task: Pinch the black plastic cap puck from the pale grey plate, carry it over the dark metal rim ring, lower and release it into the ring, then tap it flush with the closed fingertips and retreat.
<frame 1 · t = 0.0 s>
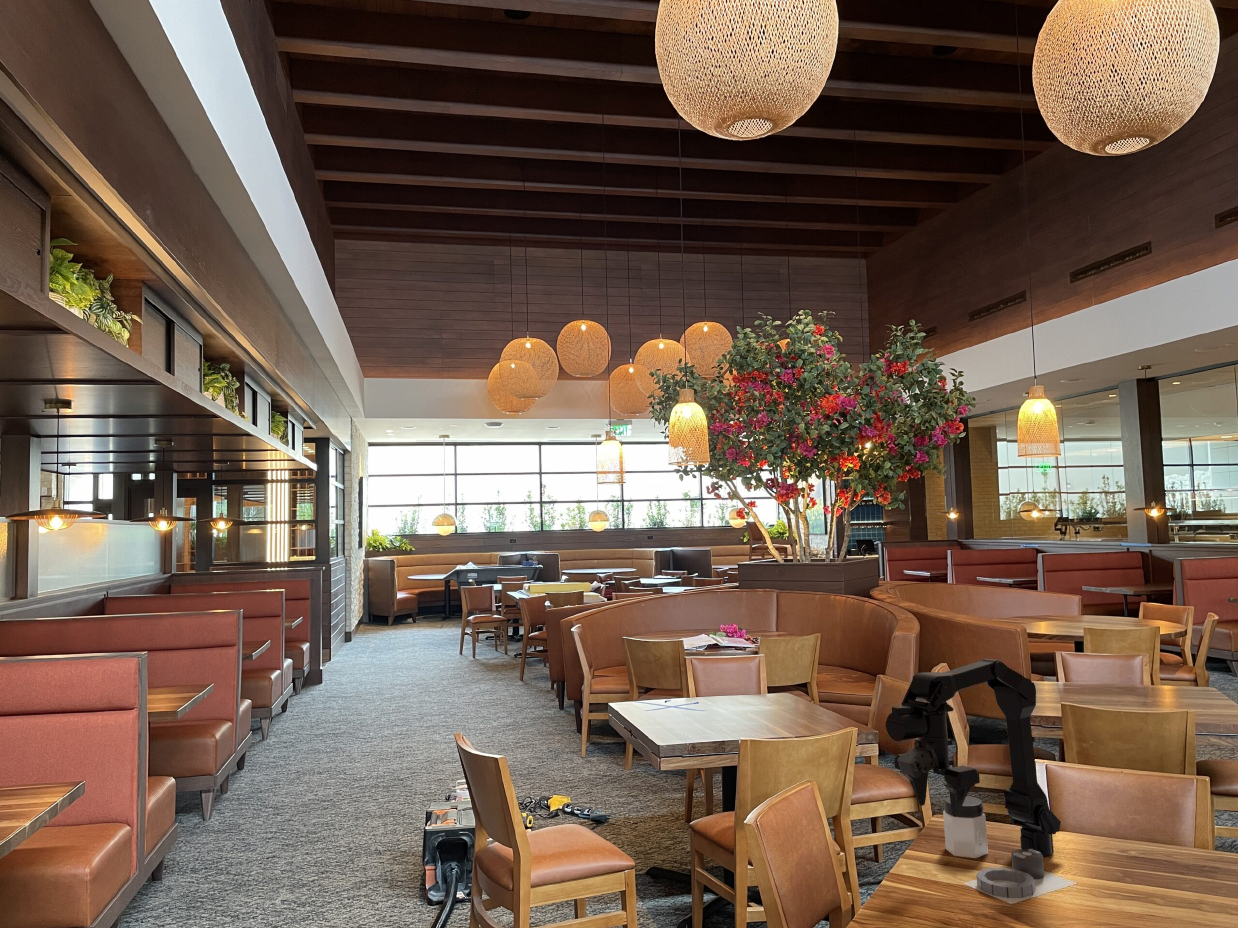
hand: (938, 810, 187), 15 cm above the table, fingers open, 9 cm apart
cap: (1028, 873, 187), point 1 cm above the table, touching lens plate
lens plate: (1020, 888, 182), on the table
jar: (967, 856, 201), on the table
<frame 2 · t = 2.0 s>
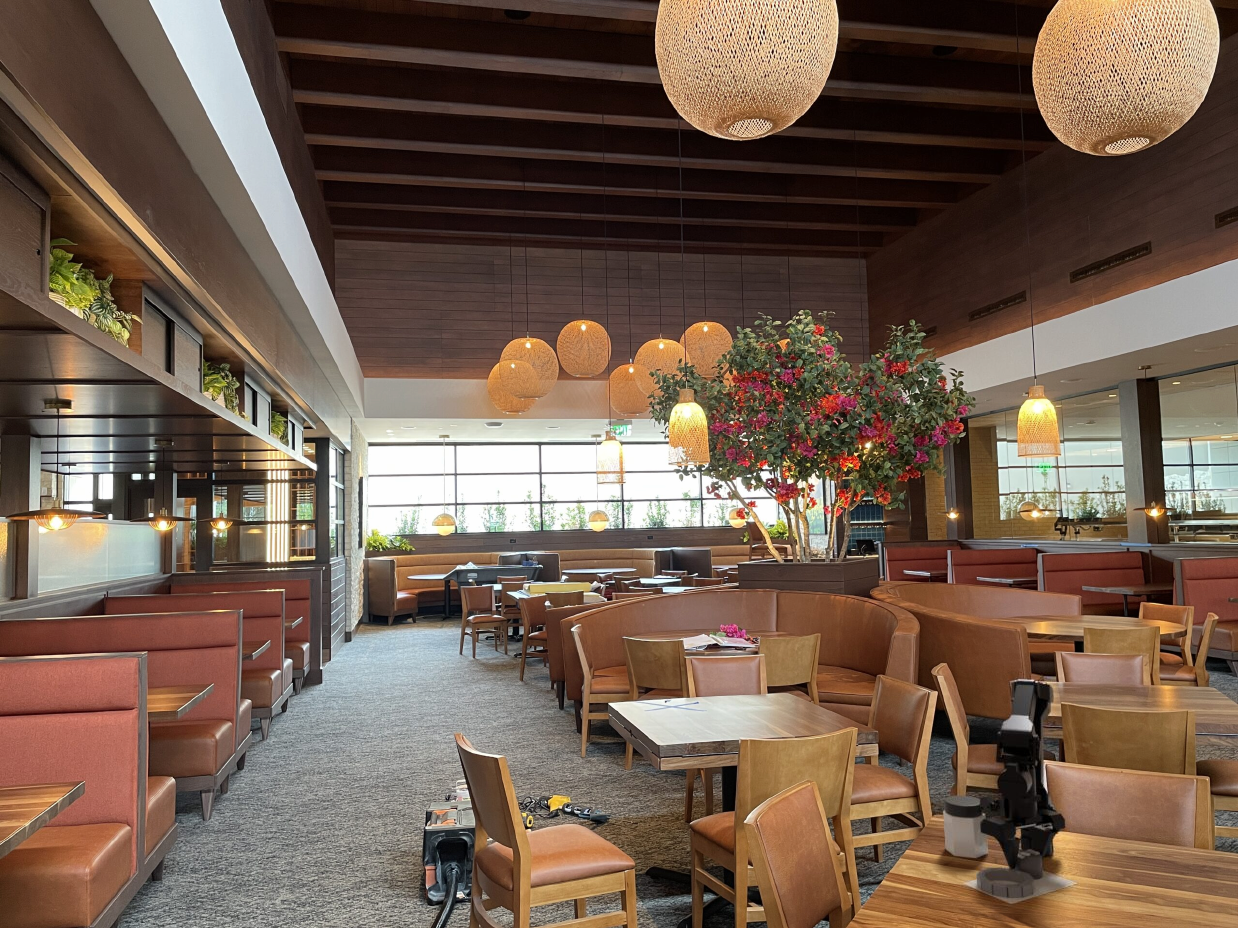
hand: (1024, 866, 186), 3 cm above the table, fingers open, 7 cm apart
cap: (1027, 874, 187), point 1 cm above the table, touching gripper, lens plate
everything else where it was.
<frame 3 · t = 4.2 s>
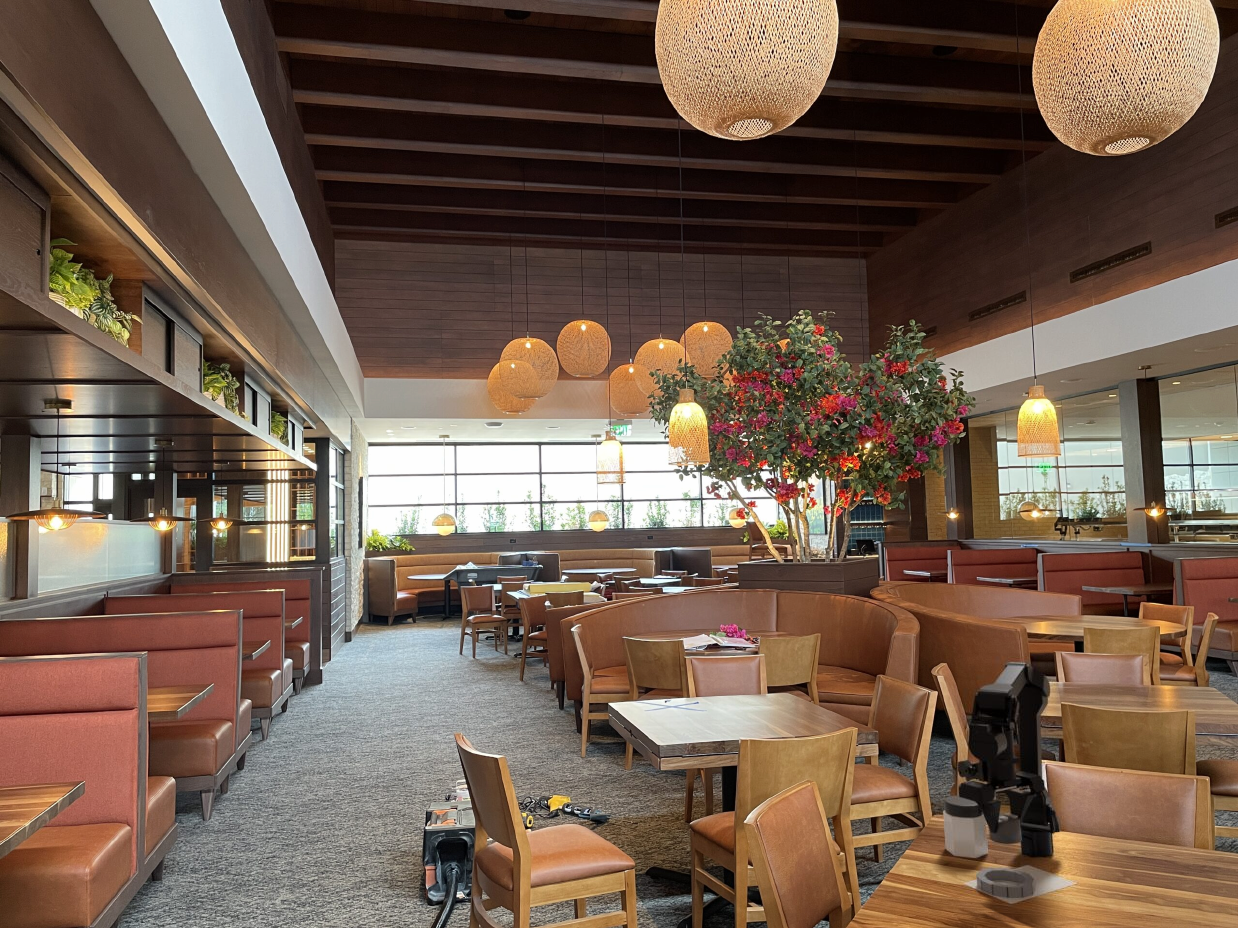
hand: (1004, 830, 182), 12 cm above the table, fingers closed on cap, 6 cm apart
cap: (1005, 838, 182), point 10 cm above the table, touching gripper
everything else where it was.
when the fingers open (4 cm above the table, at t = 6.2 s): cap drops 1 cm, resting on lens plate.
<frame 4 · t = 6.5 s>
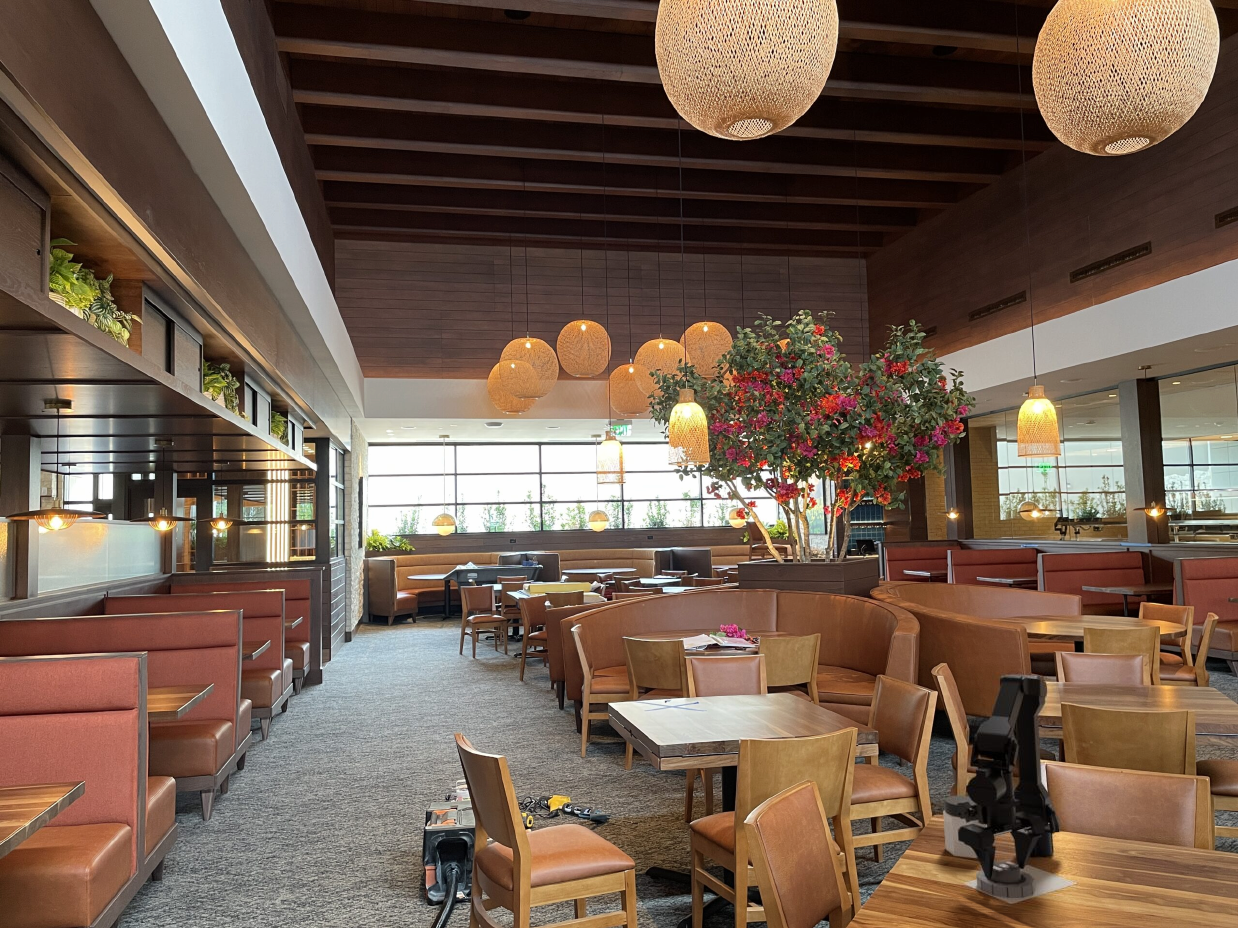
hand: (1004, 872, 181), 4 cm above the table, fingers open, 9 cm apart
cap: (1005, 887, 180), point 1 cm above the table, touching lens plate
everything else where it was.
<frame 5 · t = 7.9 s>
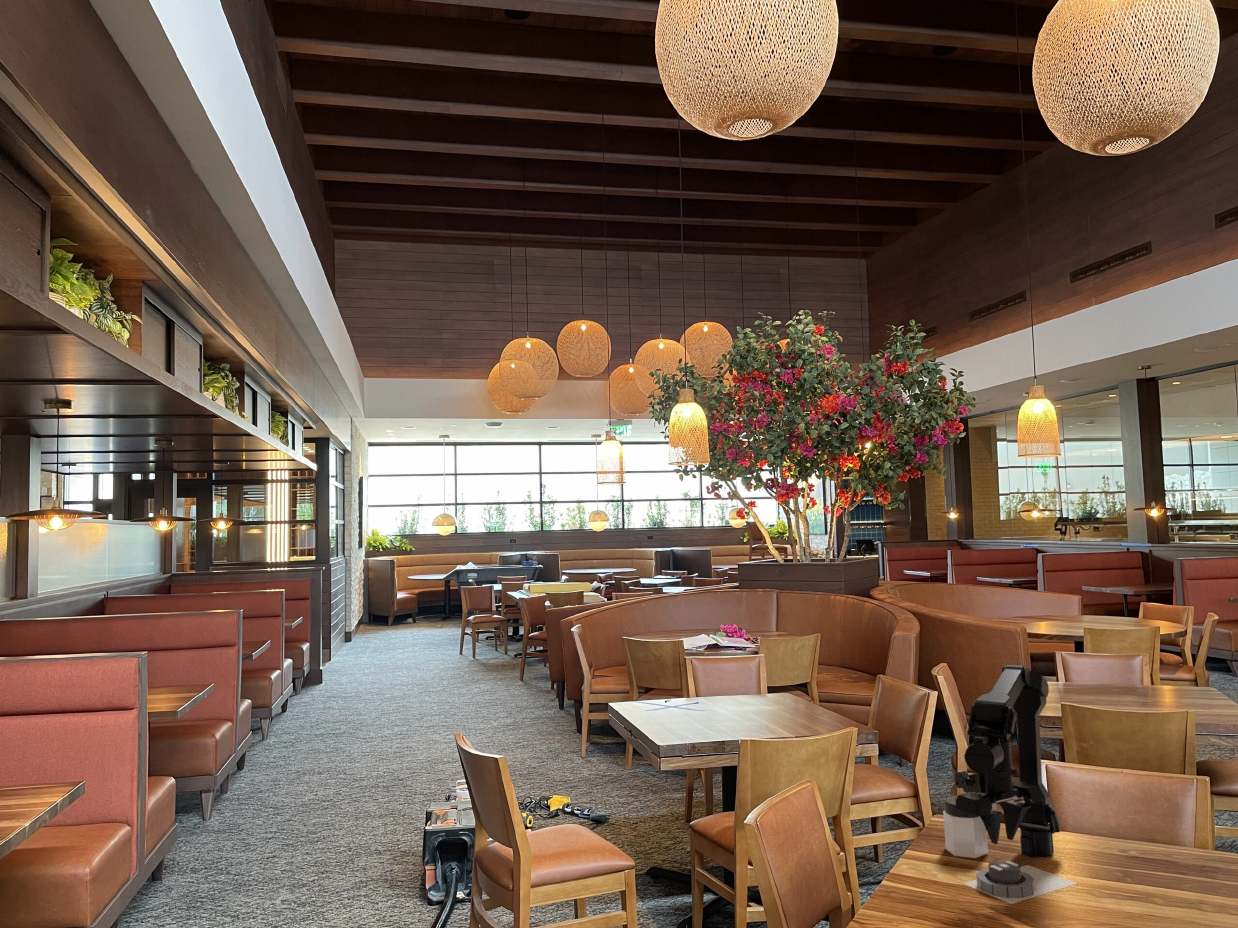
hand: (1002, 841, 181), 10 cm above the table, fingers open, 4 cm apart
nothing on the table moved.
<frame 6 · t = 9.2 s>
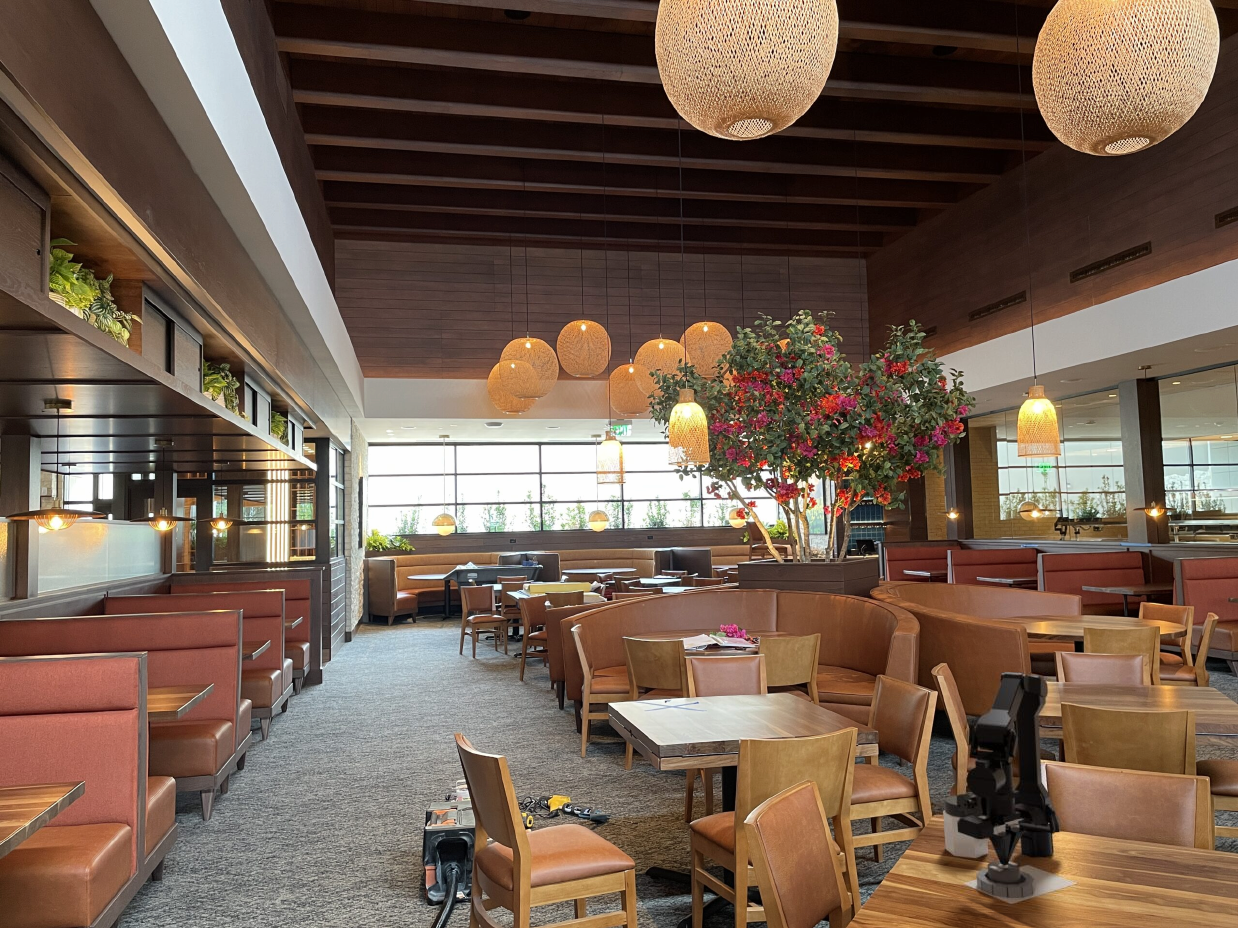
hand: (1004, 864, 181), 5 cm above the table, fingers closed
nothing on the table moved.
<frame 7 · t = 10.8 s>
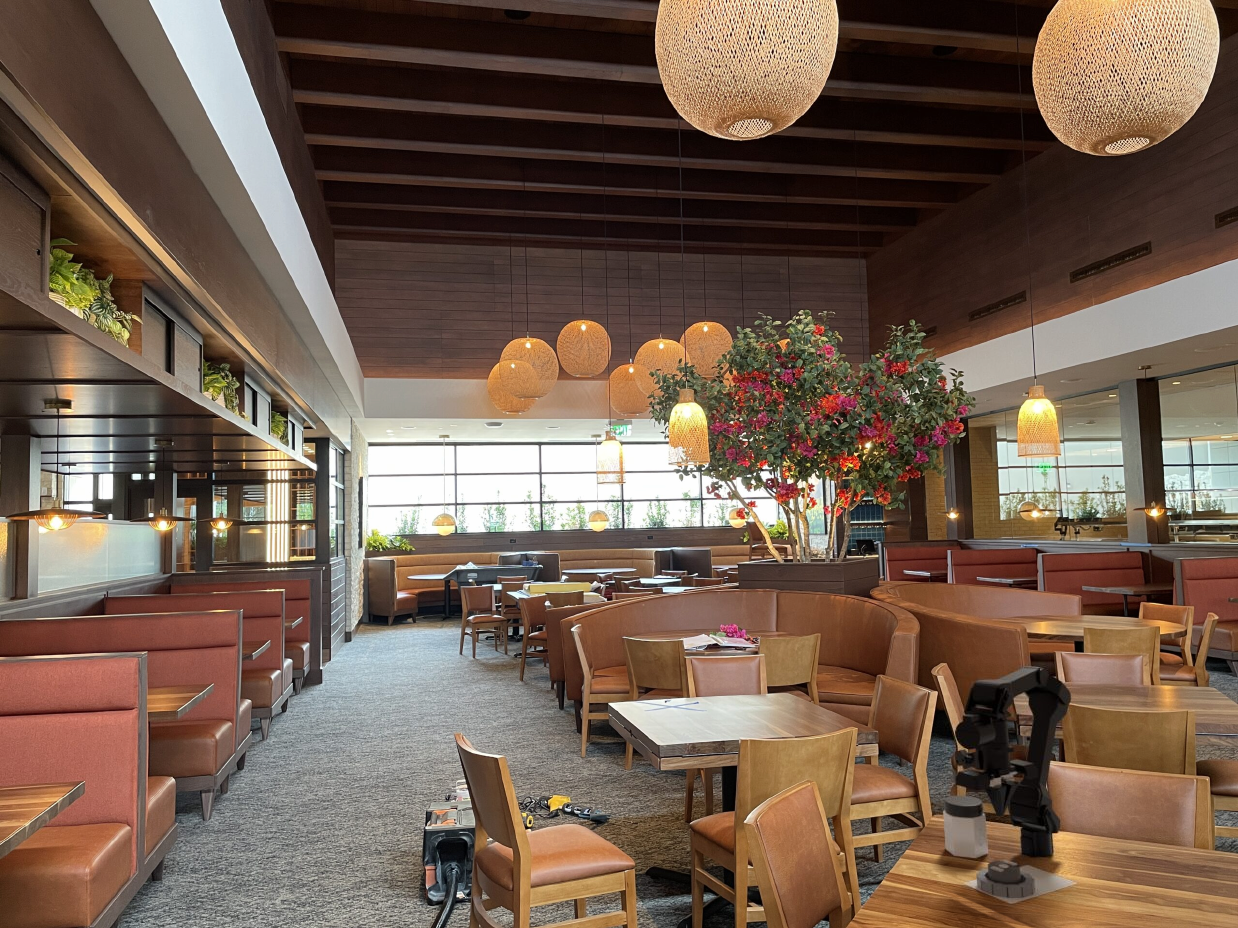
hand: (1000, 815, 191), 12 cm above the table, fingers closed
nothing on the table moved.
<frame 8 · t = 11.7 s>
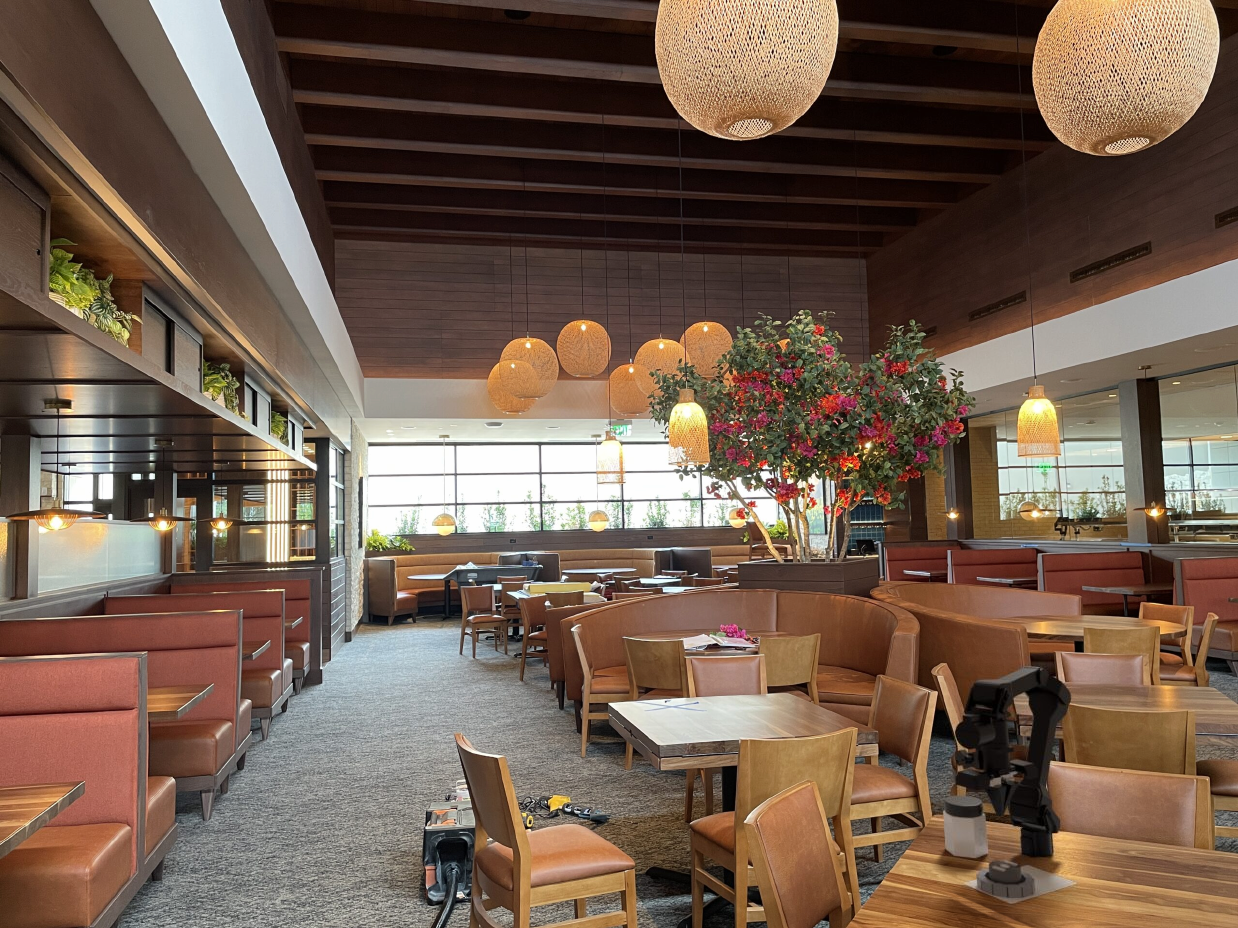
hand: (999, 815, 191), 12 cm above the table, fingers closed
nothing on the table moved.
at the end: cap 0.1 cm from the target spot on the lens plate, point 1.1 cm above the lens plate's base; cap tilted 2°; the gripper is holding nothing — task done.
